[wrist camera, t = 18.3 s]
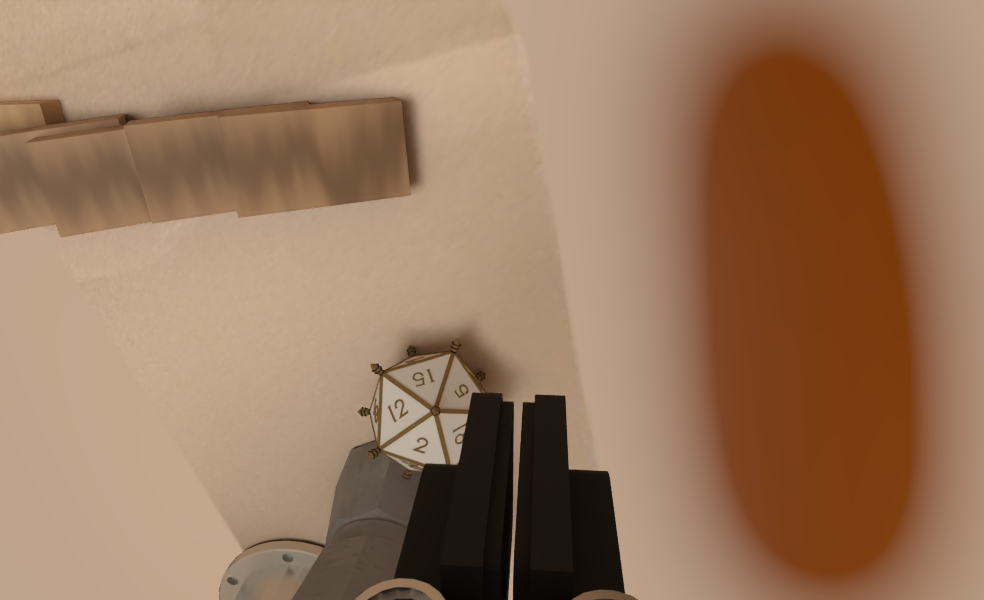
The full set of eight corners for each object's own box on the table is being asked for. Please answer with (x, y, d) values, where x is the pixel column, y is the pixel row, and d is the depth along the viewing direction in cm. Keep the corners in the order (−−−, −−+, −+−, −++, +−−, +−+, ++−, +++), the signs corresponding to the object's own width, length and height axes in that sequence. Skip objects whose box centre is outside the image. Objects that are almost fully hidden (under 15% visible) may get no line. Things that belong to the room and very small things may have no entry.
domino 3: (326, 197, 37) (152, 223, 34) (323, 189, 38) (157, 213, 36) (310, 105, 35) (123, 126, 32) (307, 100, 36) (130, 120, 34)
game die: (473, 361, 47) (524, 492, 41) (356, 397, 45) (391, 538, 40) (470, 286, 40) (530, 431, 34) (329, 324, 38) (368, 484, 32)
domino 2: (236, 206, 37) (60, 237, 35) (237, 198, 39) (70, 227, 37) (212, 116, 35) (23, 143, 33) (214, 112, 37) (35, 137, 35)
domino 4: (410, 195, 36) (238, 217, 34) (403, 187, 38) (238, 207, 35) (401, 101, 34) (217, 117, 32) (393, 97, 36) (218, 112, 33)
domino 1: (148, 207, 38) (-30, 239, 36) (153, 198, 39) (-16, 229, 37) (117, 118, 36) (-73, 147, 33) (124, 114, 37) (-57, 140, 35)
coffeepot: (414, 392, 44) (336, 627, 28) (512, 477, 46) (493, 739, 30) (276, 510, 49) (142, 764, 33) (371, 580, 51) (289, 851, 35)
